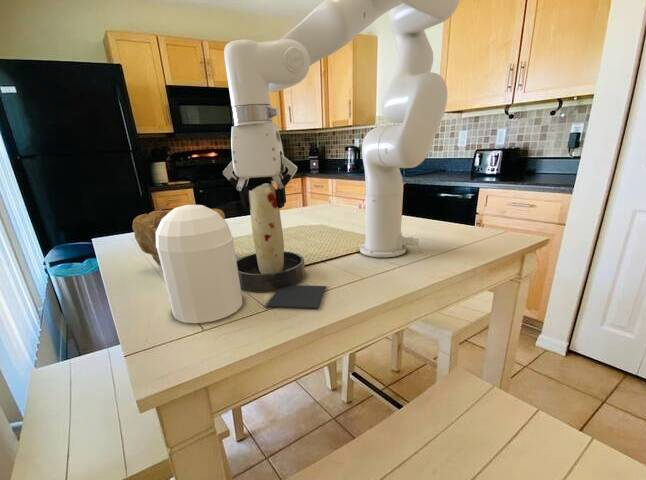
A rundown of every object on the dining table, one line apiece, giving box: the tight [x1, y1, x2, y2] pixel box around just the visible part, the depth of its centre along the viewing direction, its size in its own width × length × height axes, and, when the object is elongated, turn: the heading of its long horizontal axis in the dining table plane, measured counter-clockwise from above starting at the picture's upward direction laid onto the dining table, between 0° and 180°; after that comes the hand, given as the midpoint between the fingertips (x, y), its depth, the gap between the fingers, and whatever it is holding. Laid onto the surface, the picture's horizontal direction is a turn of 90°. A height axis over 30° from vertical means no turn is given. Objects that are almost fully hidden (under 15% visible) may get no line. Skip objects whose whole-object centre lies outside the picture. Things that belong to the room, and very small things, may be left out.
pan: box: [236, 250, 306, 293], centre depth 78 cm, size 16×16×4 cm
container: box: [156, 204, 243, 324], centre depth 63 cm, size 14×13×20 cm
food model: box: [249, 182, 285, 274], centre depth 75 cm, size 10×7×20 cm
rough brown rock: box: [131, 208, 226, 268], centre depth 85 cm, size 23×17×15 cm
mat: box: [266, 284, 327, 310], centre depth 68 cm, size 10×10×1 cm
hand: (264, 207), depth 73 cm, fingers closed on food model, 7 cm apart
